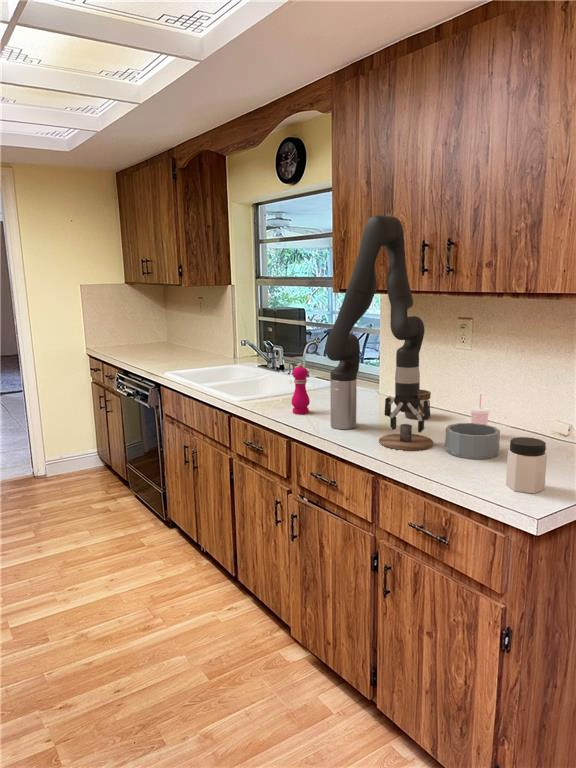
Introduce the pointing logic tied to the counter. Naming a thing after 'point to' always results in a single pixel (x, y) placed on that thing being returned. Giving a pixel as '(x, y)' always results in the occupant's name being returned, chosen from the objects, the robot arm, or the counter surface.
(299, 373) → the pepper mill
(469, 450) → the grey hollow cylinder
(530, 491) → the jar
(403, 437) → the walnut lid
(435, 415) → the counter surface
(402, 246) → the robot arm
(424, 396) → the flower pot
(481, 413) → the beverage cup
